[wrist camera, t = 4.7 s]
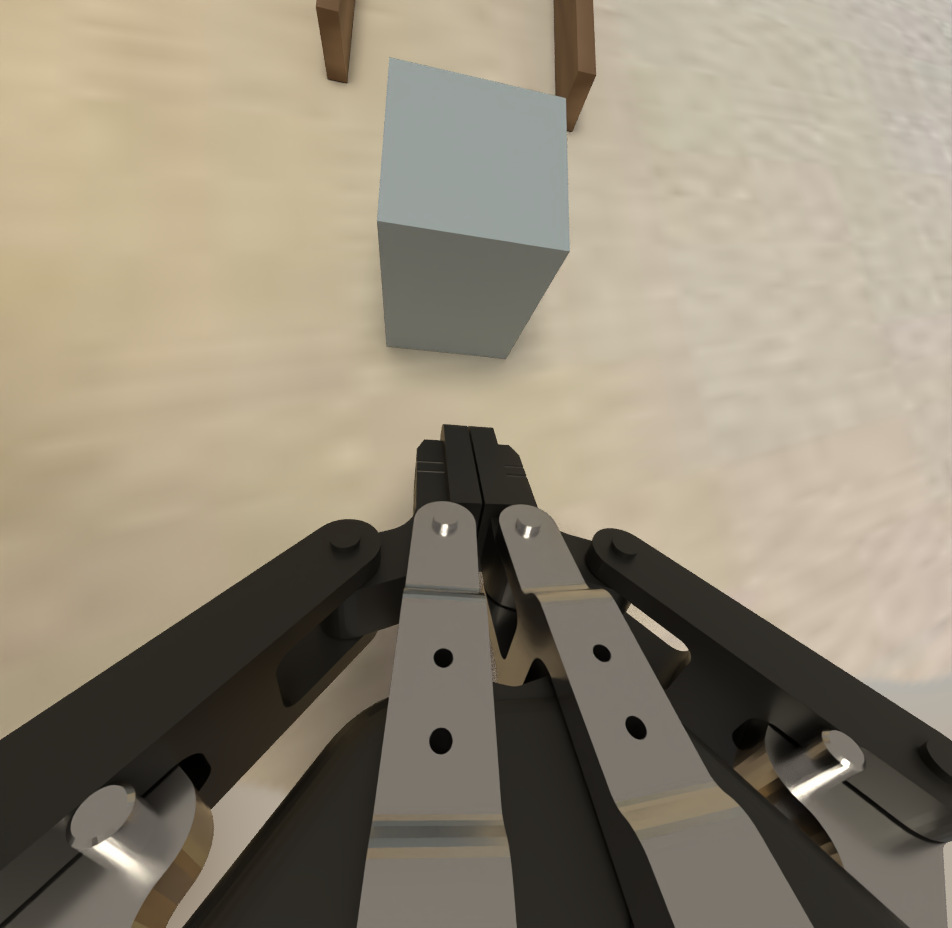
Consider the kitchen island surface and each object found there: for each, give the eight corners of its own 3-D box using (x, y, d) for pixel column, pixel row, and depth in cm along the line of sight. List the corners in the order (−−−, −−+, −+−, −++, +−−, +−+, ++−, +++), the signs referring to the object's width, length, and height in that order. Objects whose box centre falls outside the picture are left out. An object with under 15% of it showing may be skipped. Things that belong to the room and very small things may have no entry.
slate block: (386, 346, 19) (377, 220, 12) (393, 238, 20) (389, 57, 13) (505, 359, 20) (569, 251, 13) (506, 255, 21) (566, 98, 14)
